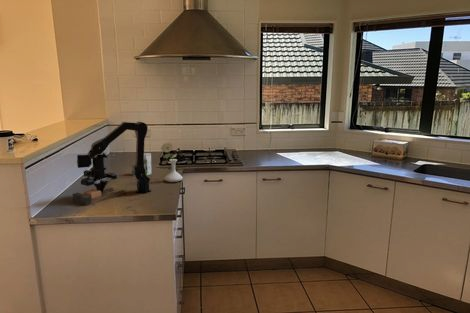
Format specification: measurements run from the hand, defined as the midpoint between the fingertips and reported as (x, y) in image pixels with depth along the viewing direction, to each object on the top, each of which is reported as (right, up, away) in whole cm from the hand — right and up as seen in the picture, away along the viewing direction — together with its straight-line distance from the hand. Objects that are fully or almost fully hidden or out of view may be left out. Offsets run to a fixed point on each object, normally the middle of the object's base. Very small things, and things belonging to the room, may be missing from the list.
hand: (100, 194), depth 191 cm
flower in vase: (+33, +5, +34) cm, 48 cm away
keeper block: (-2, -2, -4) cm, 5 cm away
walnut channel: (0, -2, 0) cm, 2 cm away
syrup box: (+12, +8, +49) cm, 51 cm away
